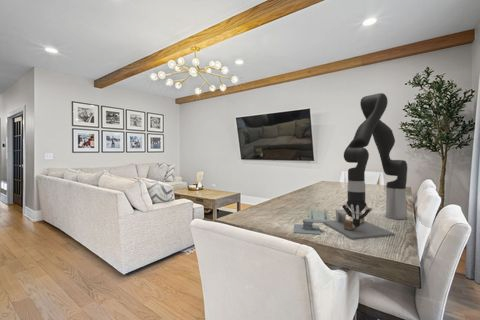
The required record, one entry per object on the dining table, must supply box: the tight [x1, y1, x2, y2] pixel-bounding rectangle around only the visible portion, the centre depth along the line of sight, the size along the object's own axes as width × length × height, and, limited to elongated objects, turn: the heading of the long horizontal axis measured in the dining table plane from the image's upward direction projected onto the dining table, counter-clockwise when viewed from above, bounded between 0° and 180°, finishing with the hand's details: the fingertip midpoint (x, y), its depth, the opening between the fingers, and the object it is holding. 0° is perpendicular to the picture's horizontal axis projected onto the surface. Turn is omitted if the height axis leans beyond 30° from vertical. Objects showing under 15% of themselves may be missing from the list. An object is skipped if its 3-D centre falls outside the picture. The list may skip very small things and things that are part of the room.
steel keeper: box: [335, 209, 348, 222], centre depth 121 cm, size 4×6×6 cm
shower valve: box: [293, 218, 326, 236], centre depth 113 cm, size 12×6×15 cm
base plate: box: [323, 211, 396, 241], centre depth 114 cm, size 22×24×6 cm
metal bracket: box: [304, 208, 331, 221], centre depth 131 cm, size 14×6×15 cm
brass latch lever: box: [344, 217, 365, 230], centre depth 116 cm, size 19×4×4 cm, turn 134°
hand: (356, 226), depth 109 cm, fingers closed
